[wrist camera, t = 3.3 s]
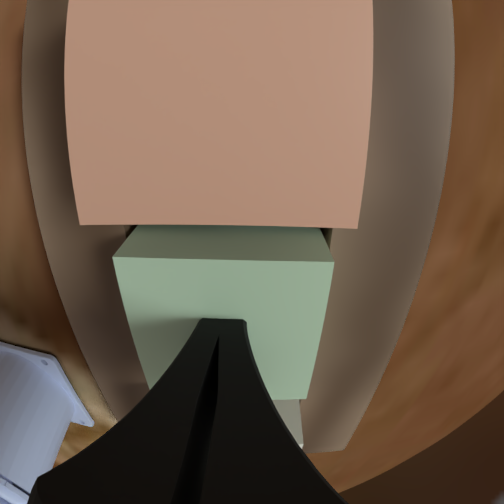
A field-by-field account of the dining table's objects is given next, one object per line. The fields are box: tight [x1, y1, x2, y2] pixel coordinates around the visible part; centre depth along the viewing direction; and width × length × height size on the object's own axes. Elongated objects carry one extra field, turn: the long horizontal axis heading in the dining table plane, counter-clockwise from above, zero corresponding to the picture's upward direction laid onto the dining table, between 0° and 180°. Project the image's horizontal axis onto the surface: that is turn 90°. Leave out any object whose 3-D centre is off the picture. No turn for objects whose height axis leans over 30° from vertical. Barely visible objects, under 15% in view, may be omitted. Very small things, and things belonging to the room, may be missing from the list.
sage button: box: [112, 225, 334, 400], centre depth 11 cm, size 6×6×4 cm
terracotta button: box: [64, 0, 373, 229], centre depth 6 cm, size 6×6×4 cm
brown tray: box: [22, 0, 455, 453], centre depth 12 cm, size 14×24×2 cm, turn 179°
